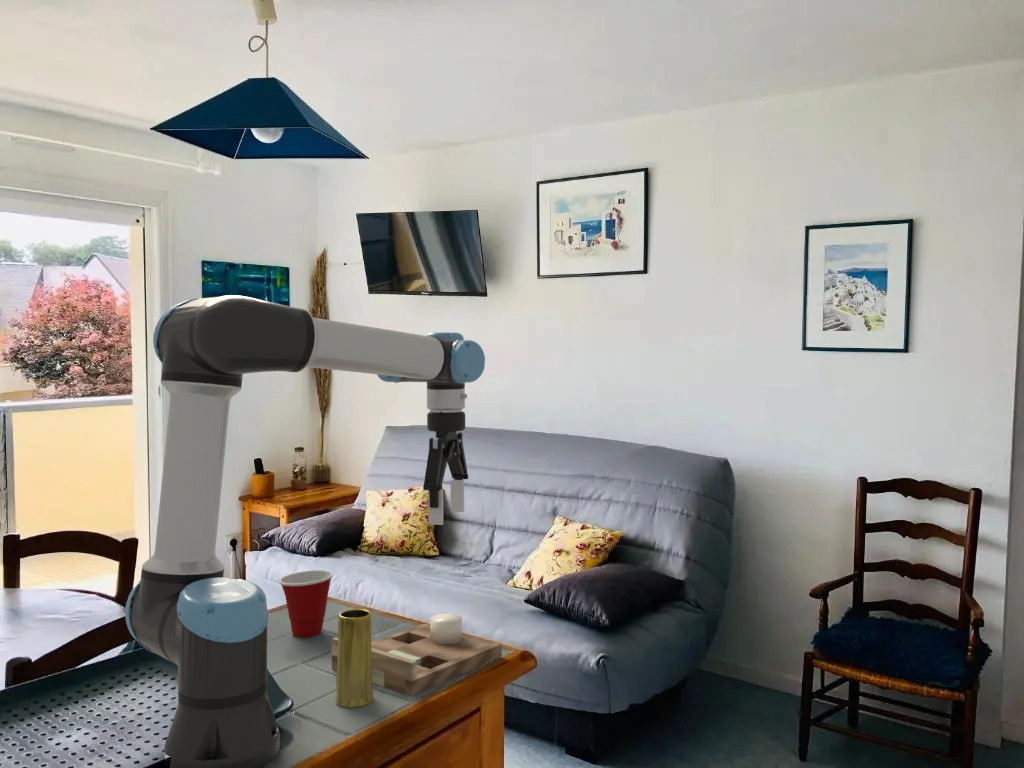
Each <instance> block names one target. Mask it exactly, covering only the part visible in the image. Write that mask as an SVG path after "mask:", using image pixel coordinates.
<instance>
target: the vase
mask: <svg viewBox="0 0 1024 768" xmlns="http://www.w3.org/2000/svg"><path fill="white" fill-rule="evenodd" d="M337 619H338V621H337V628H338V629H337V630H338V631H337V633H338V635H337V637H338V656H337V671H336V680H335V681H336V686H335V688H336V696H335V699H334V701H335V703H336V705H337V706H339V707H342V708H347V709H356V708H362V707H365V706H368V705H370V704H371V703H372V702H373V701H374V698H375V697H374V691H373V683H372V649H371V642H372V612H371V610H368V609H365V608H351V609H346V610H343V611H341V612H339V613H338V618H337Z"/></svg>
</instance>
